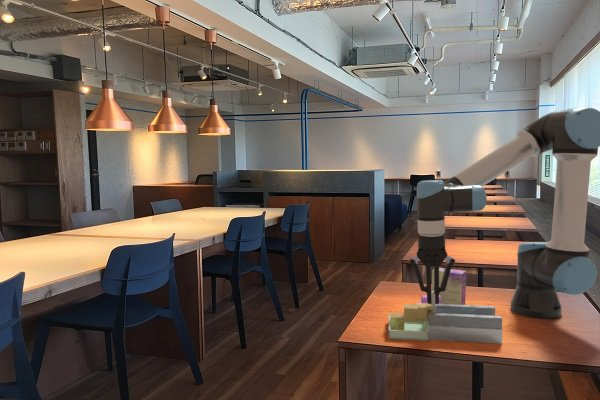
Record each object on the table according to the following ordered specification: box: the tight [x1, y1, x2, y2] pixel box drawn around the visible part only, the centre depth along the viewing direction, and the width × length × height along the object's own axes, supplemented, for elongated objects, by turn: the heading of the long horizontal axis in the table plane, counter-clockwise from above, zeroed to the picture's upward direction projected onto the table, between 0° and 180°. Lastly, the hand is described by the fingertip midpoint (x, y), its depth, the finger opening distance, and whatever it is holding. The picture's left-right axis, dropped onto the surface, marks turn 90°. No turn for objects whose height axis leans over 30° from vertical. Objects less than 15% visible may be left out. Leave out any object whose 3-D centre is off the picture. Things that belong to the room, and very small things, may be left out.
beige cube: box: [417, 302, 433, 321], centre depth 142 cm, size 4×4×4 cm
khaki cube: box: [390, 312, 404, 330], centre depth 144 cm, size 4×4×4 cm
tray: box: [388, 313, 430, 342], centre depth 143 cm, size 11×14×2 cm
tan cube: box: [403, 303, 419, 322], centre depth 142 cm, size 4×4×4 cm
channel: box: [426, 304, 503, 345], centre depth 140 cm, size 20×12×7 cm, turn 80°
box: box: [431, 267, 467, 305], centre depth 169 cm, size 10×6×12 cm, turn 58°
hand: (433, 314), depth 141 cm, fingers closed
